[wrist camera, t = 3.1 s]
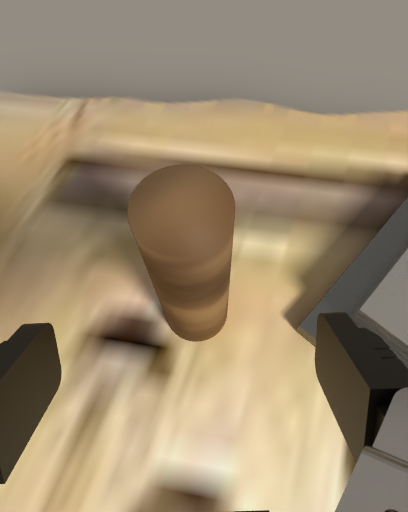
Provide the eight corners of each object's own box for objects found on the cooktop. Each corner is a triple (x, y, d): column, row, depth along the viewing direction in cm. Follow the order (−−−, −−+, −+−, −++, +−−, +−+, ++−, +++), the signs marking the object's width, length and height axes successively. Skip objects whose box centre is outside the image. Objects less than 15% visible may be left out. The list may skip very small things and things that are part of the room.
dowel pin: (153, 312, 23) (105, 210, 13) (195, 272, 24) (180, 148, 14) (197, 354, 21) (181, 277, 12) (239, 309, 23) (257, 203, 13)
